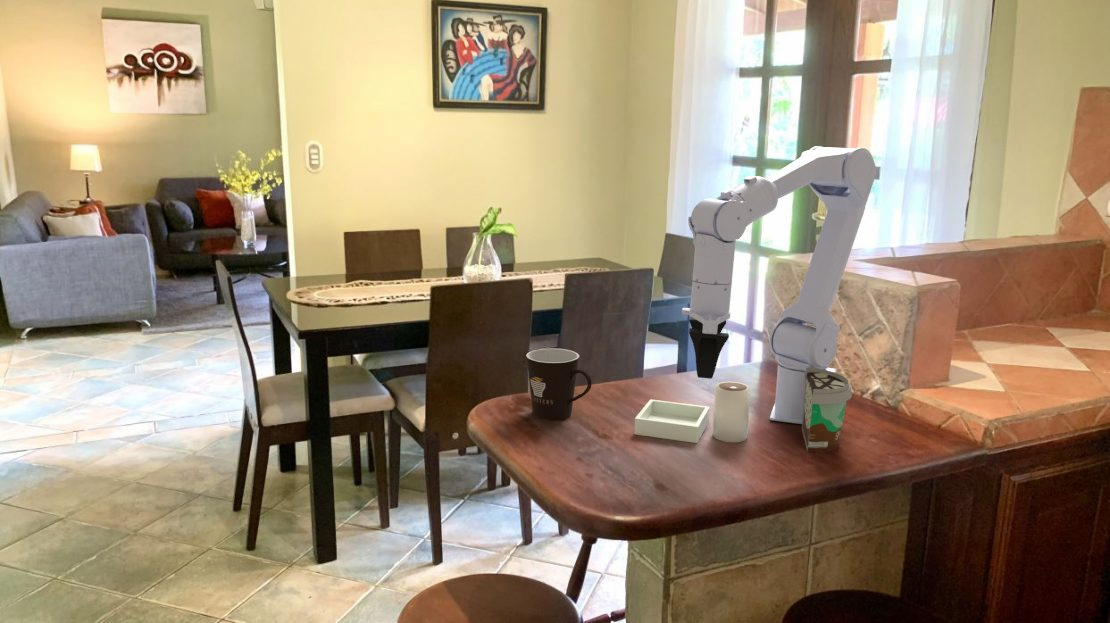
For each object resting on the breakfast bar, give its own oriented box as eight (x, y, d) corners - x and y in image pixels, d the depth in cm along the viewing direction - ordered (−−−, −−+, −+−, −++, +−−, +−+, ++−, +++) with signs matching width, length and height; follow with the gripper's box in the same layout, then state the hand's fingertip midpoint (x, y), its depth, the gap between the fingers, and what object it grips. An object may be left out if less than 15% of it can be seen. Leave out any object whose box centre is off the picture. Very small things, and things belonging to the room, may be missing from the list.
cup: (749, 432, 128) (752, 383, 127) (744, 444, 124) (747, 393, 122) (715, 428, 130) (718, 379, 128) (709, 439, 125) (712, 389, 124)
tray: (708, 422, 133) (709, 406, 132) (697, 443, 124) (698, 426, 123) (649, 414, 136) (650, 399, 135) (634, 434, 127) (634, 418, 126)
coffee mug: (518, 408, 138) (518, 351, 136) (565, 402, 141) (566, 346, 139) (545, 431, 128) (545, 370, 125) (594, 424, 131) (596, 364, 129)
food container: (852, 459, 118) (859, 393, 116) (808, 455, 119) (813, 390, 117) (841, 429, 130) (846, 369, 128) (801, 426, 131) (805, 366, 129)
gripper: (684, 272, 128) (678, 356, 131) (684, 287, 114) (676, 381, 117) (730, 275, 127) (722, 360, 130) (735, 291, 113) (727, 385, 116)
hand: (704, 370), depth 123 cm, fingers open, 7 cm apart
